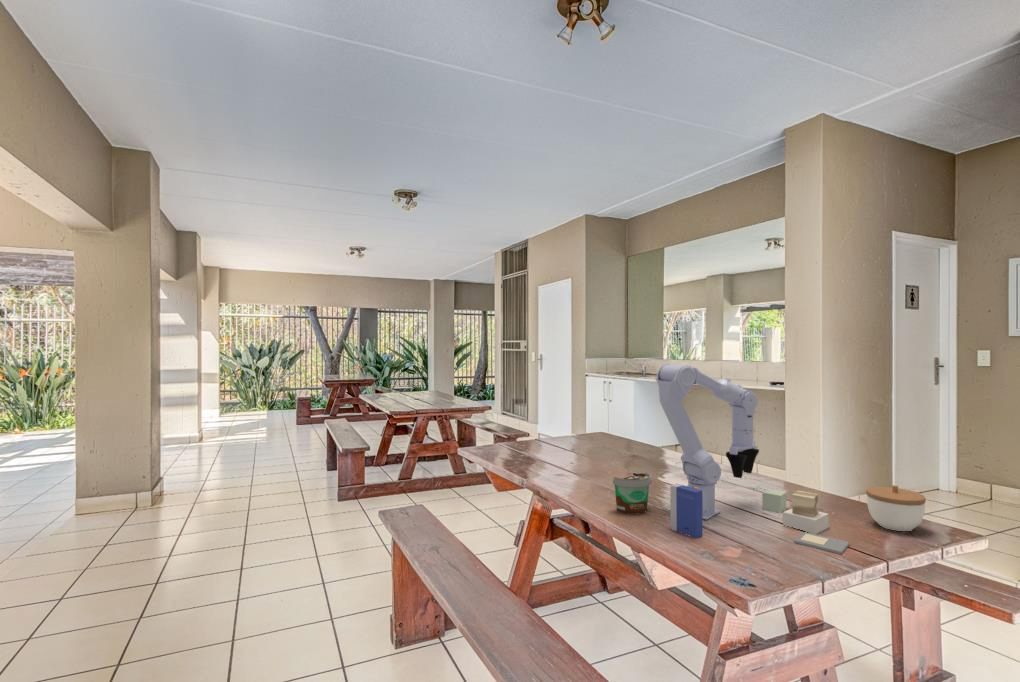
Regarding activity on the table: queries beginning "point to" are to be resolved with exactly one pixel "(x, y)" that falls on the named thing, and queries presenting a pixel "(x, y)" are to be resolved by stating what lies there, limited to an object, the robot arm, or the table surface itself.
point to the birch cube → (805, 503)
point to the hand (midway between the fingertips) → (742, 474)
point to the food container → (632, 493)
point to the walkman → (686, 510)
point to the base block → (806, 521)
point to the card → (822, 542)
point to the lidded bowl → (895, 507)
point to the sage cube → (774, 500)
